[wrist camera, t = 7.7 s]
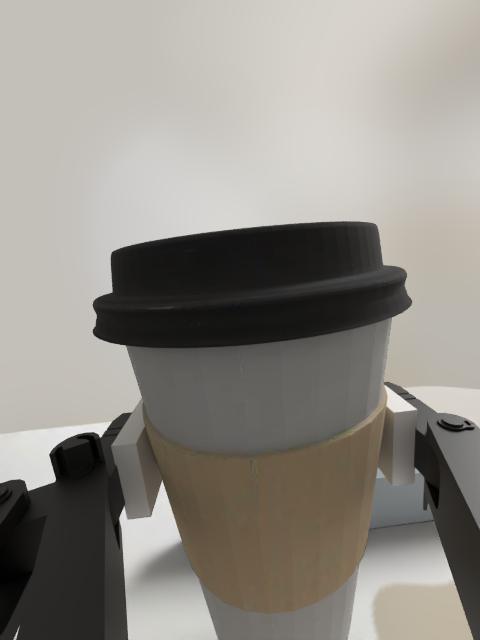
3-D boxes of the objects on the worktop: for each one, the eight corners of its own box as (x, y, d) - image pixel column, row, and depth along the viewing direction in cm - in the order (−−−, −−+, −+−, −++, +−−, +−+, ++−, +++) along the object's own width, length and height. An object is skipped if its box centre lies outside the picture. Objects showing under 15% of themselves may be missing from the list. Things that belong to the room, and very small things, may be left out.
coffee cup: (433, 591, 11) (457, 219, 8) (301, 999, 5) (206, 188, 2) (268, 475, 18) (247, 251, 15) (129, 595, 12) (49, 263, 9)
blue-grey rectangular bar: (194, 552, 18) (185, 503, 17) (196, 531, 20) (188, 485, 19) (478, 514, 19) (482, 464, 18) (460, 496, 20) (463, 449, 19)
